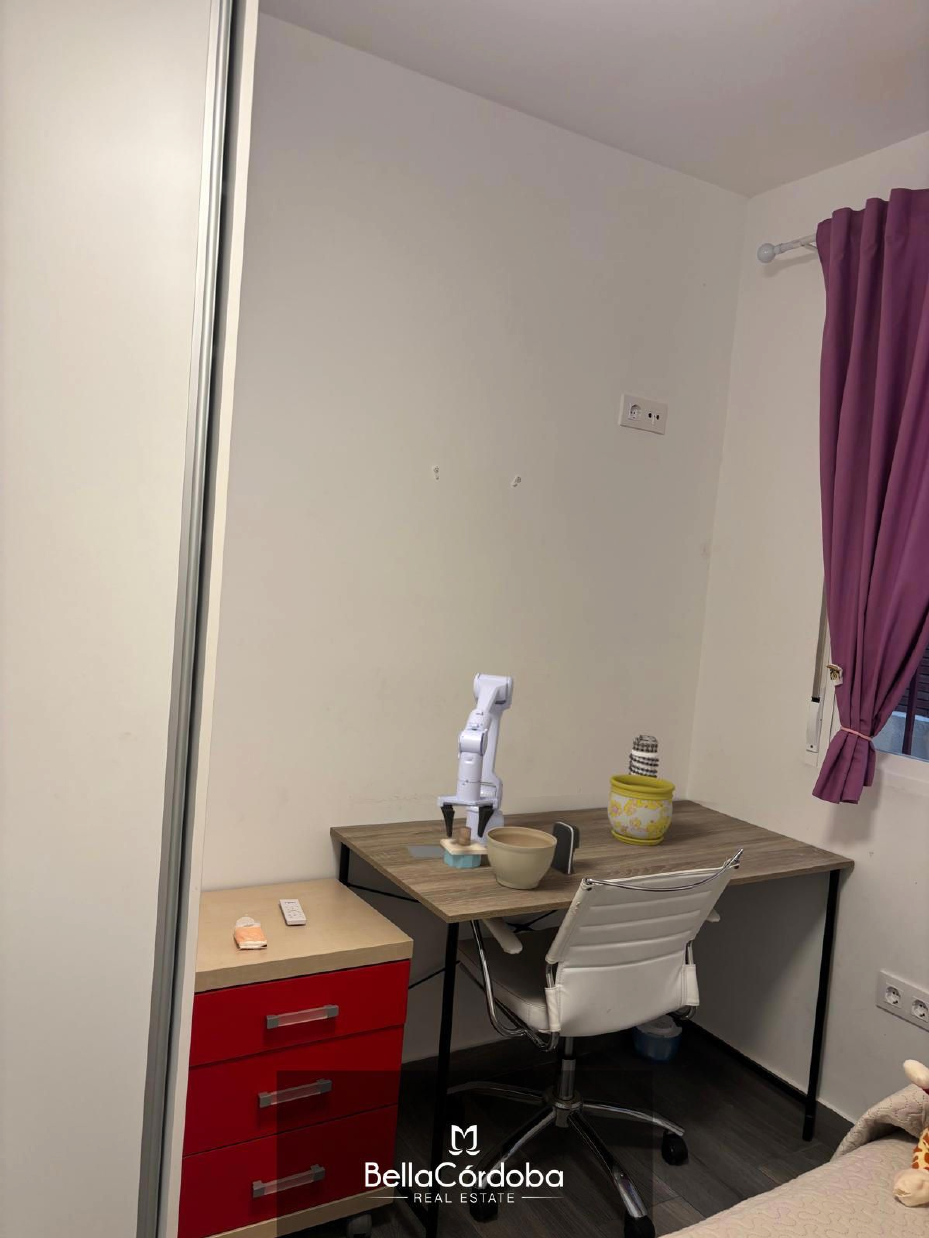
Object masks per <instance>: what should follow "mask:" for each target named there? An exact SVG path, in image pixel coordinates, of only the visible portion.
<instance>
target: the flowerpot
mask: <svg viewBox="0 0 929 1238" xmlns="http://www.w3.org/2000/svg"><path fill="white" fill-rule="evenodd" d="M609 783H610V784H611V785H610V788H609V790H610V792H609V796H608V801H607V817H608V820H609V821H608V822H609V823H610V825H611V827H612V828H613V829H611V833H612V835H613V836H614V838H615V839H617V841H620V842H623V843H625V842H626V844H630V845H635V846H643V845H644V846H645V847H646V846H649V845H651V846H656V845H659V844H660V843H661V841H663V840H664V836H663V834H665V833H666V832H667V830H668V828H669V826H670V824H671V822H672V818H673V798H674V794H673V792H674V791H675V790H676V785H675V784H674V783H672V782H671V781H668V780H666V779H665V780H664V779H661V778H658V777H657V778H653V777H648V776H640V775H628V774H615V775H612V776H610V778H609ZM644 846H643V847H644ZM649 847H650V846H649Z"/></svg>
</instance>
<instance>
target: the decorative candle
mask: <svg viewBox="0 0 929 1238" xmlns="http://www.w3.org/2000/svg"><path fill="white" fill-rule="evenodd" d="M632 741H633V742H632V749H631V753H630V754H629V756H628V758H629V759H630V760H629V762H628V764H629V766H628V771H629V772H628V774H627V775H640V776H648V777H653V778H658V776H657V773H658V770H657V769H656V768H657V767H660V766H659V763H658V762H659V761H660V759H659V758H658V754H659V752H658V748H659V744H660V742H659V741H658V739H656V737H655V736H654V735H653V736H652V735H646V734H638V735H636V736H635V737H634V738H633V739H632Z"/></svg>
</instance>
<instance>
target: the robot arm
mask: <svg viewBox="0 0 929 1238" xmlns="http://www.w3.org/2000/svg"><path fill="white" fill-rule="evenodd" d="M514 686H515V685H514V678H513V677H512V676H505V675H494V674H488V673H487V674H486V673H480V672H477V673H476V675H475V676H474V680H473V687H472V688H473V689H472V691H473V696H474V699H475V703H476V708H475V709H472V711H471V712H470V713H469V715H468V718H467V721H466V724H465V727H464V729H463V730H461V731H460V732H459V734H458V738H457V753H458V754H457V761H459V762H458V771H457V783H456V793H455V795H451V796H450V795H448V796H437V801H436V805H437V807H438V808H439V807H440V810H441V813H442V815H443V819H444V823H445V828H446V829H445V831H446V836H447V837H448V838H453V825H454V819H455V818H454V817H455V814H456V811H455V809H454V807H465V810H466V823H465V827H470V828H471V839H476V840H477V841H478V842H480V843H481V844H482V845H483V846H484V847H487V839H486V833H487V831H489V830H490V829H493V828H498V827H505V826H504V824H505V821H504V820H505V819H504V818H505V817H504V814H503V811H502V810H501V807H502V803H503V796H504V795H503V790H504V783H503V780H502V779H501V778H500V777H499V776H498V775H497V774H496V773H495V765H496V759H497V751H498V743H499V742H498V741H499V738H500V737H499V735H500V728H501V720H502V716H503V713H504V711H505V710H508V709H510V708H511V705H512V700H513V694H514ZM490 784H491V785H490Z"/></svg>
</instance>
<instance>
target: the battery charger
mask: <svg viewBox="0 0 929 1238" xmlns="http://www.w3.org/2000/svg"><path fill="white" fill-rule="evenodd" d="M551 835H552V836H553V837H555V838H556V840H557V844H556V847H555V852H554V856H553V860H552V862H551V865H550V867H551V868H552V869H554V870H556V871H557V872H560V873H562V874H565V875H570V874H574V873H575V869H574V866H573V861H574V853H575V852H576V850H577V849H579V848H580V847H579V846H580V838H581V836H580V835H581V832H580V829H579V828H578V827H577V826H576V825H575V824H574V825H573V824H572V823H568V822H566V821H563V822H562V821H561V822H560V821H559V822H555V823H554V824H553V827H552V834H551ZM550 867H549V868H550Z"/></svg>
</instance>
